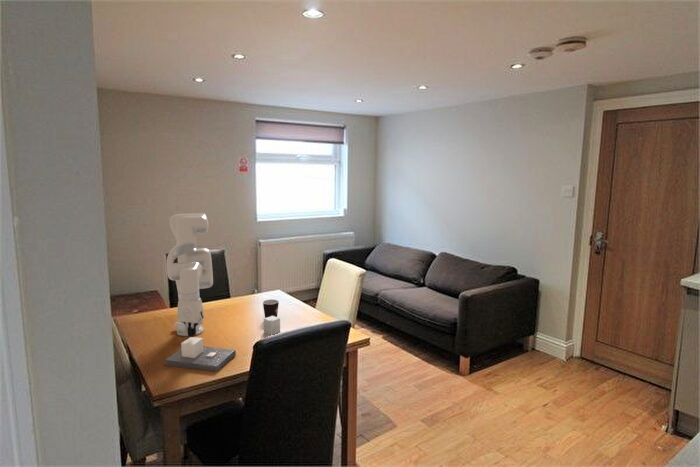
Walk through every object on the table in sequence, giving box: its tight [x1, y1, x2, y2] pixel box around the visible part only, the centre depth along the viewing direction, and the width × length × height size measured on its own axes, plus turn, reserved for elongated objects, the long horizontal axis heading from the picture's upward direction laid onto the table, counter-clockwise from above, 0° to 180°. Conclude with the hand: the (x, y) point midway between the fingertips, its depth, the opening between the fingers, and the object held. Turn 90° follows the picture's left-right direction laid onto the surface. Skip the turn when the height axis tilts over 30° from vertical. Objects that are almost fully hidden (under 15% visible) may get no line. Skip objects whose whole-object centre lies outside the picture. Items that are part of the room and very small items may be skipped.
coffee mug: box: [262, 299, 280, 318], centre depth 232 cm, size 12×9×10 cm
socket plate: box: [164, 345, 236, 372], centre depth 182 cm, size 24×16×3 cm, turn 77°
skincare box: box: [263, 316, 281, 336], centre depth 214 cm, size 6×6×7 cm
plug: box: [180, 336, 204, 358], centre depth 183 cm, size 6×7×8 cm
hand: (192, 335), depth 182 cm, fingers closed
